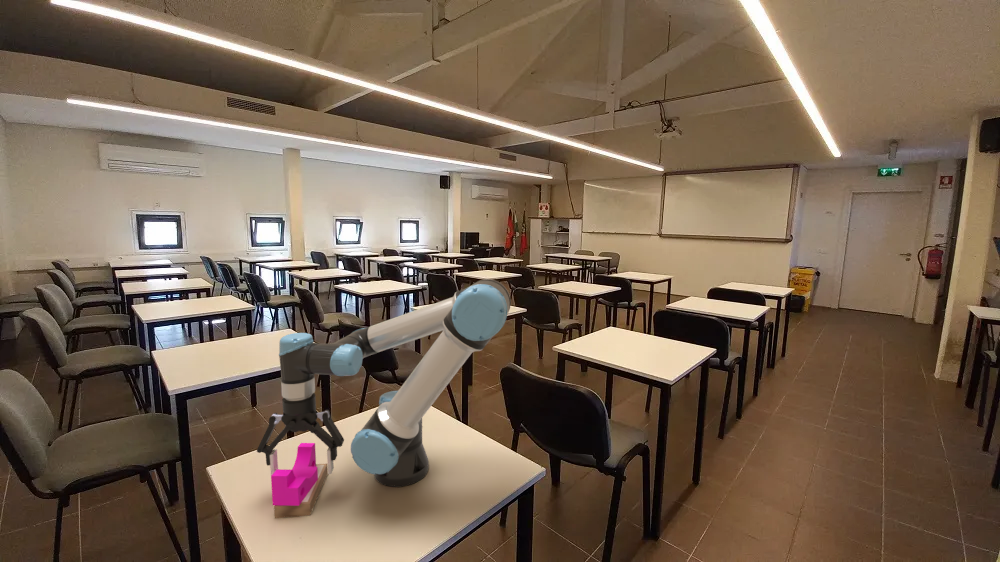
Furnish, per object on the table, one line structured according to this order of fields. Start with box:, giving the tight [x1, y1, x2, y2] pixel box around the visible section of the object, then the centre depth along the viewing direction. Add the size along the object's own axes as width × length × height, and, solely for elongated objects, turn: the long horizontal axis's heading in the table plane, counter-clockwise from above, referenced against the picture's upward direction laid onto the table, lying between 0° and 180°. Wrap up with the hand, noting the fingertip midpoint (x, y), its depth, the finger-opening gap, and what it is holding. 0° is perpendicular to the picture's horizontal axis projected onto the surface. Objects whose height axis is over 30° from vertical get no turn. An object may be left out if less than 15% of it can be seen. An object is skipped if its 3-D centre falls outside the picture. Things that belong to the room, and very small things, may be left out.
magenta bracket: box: [270, 442, 318, 506], centre depth 104 cm, size 15×6×8 cm, turn 0°
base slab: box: [273, 463, 329, 519], centre depth 106 cm, size 8×17×3 cm, turn 10°
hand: (303, 473), depth 106 cm, fingers open, 13 cm apart
